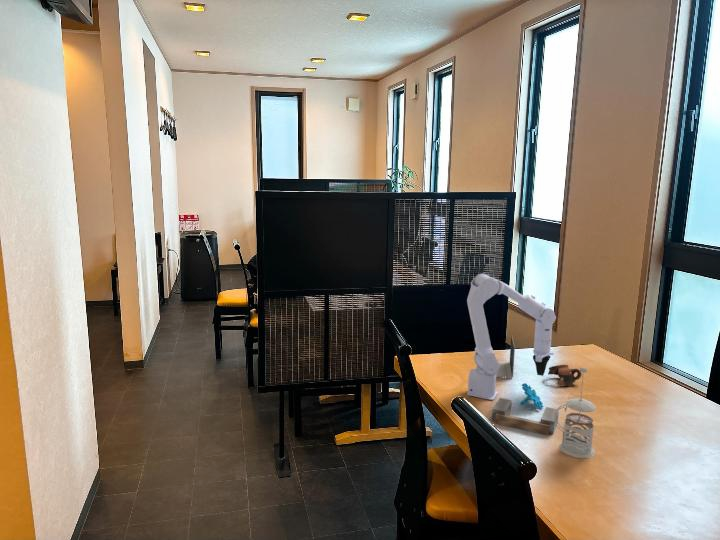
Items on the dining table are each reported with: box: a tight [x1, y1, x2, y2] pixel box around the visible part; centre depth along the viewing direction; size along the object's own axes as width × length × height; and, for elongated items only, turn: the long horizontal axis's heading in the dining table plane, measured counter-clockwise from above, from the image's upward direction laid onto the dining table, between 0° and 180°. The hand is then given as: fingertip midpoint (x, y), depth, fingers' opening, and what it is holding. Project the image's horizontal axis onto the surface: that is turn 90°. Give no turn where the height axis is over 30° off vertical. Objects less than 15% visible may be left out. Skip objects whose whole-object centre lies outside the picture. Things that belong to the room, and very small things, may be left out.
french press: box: [554, 366, 597, 459], centre depth 150 cm, size 10×12×25 cm
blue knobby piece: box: [520, 382, 544, 409], centre depth 181 cm, size 11×6×10 cm
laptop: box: [496, 334, 516, 379], centre depth 215 cm, size 18×12×13 cm
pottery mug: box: [547, 364, 583, 387], centre depth 202 cm, size 12×10×8 cm
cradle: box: [491, 397, 560, 436], centre depth 169 cm, size 19×12×4 cm, turn 62°
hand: (540, 374), depth 191 cm, fingers closed
